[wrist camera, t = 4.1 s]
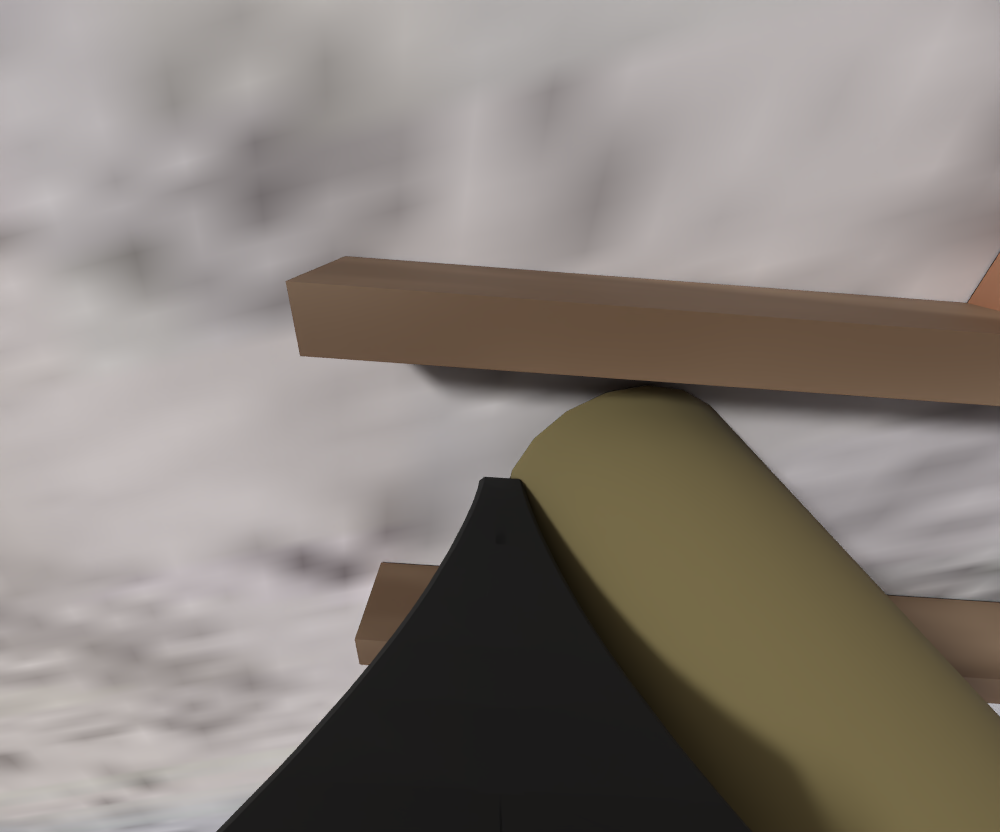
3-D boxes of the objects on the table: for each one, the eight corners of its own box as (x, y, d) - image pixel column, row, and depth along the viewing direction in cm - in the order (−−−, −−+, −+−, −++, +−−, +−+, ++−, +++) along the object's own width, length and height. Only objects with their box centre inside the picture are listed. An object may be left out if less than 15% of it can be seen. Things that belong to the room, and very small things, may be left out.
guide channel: (962, 659, 15) (1102, 806, 11) (388, 623, 14) (349, 762, 11) (1456, 226, 7) (2271, 261, 4) (331, 138, 7) (164, 93, 4)
